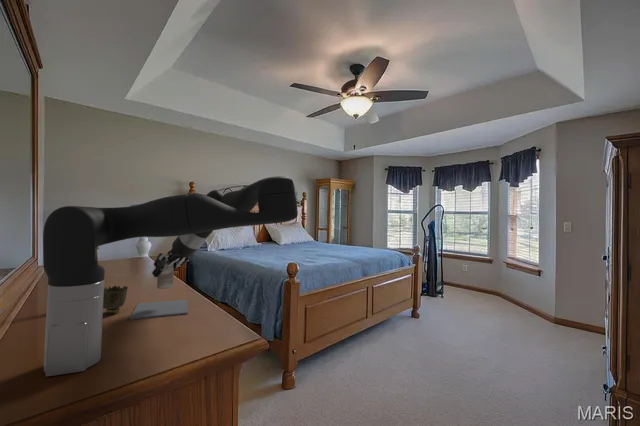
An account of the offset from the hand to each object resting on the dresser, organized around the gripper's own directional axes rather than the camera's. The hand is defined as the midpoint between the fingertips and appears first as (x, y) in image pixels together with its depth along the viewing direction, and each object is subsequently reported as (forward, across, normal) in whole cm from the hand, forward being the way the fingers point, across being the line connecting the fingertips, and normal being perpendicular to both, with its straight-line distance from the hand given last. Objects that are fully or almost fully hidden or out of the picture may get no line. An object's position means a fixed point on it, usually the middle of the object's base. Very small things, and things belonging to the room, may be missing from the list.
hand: (161, 273), depth 101 cm
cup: (+15, -9, -2) cm, 18 cm away
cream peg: (+2, 0, -4) cm, 5 cm away
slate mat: (+8, 0, -9) cm, 12 cm away
